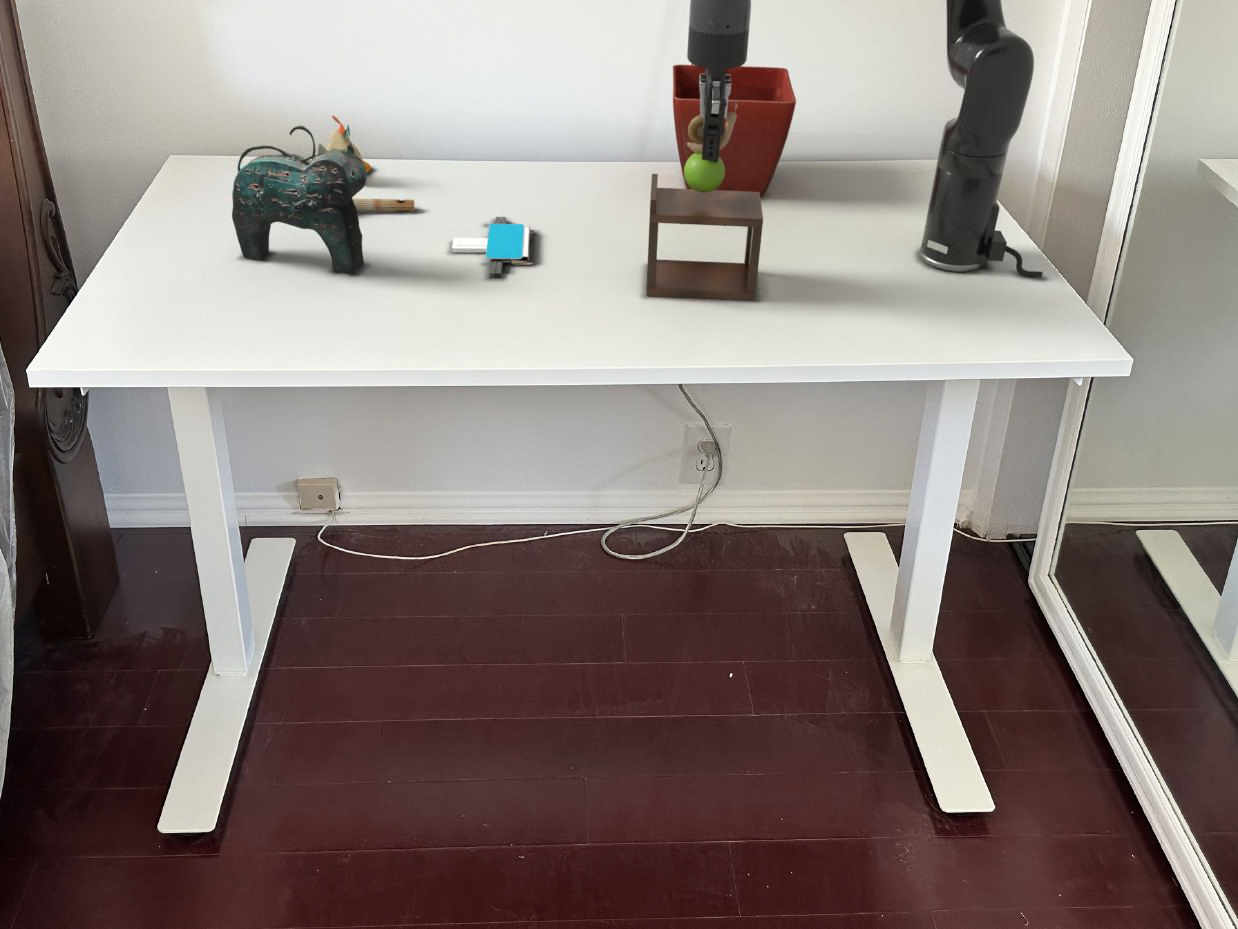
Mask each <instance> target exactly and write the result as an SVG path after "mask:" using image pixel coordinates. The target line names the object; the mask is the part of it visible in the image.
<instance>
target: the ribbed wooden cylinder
mask: <svg viewBox="0 0 1238 929" xmlns="http://www.w3.org/2000/svg"><path fill="white" fill-rule="evenodd" d="M352 199H353V202H354V204H355V207H356V209H357V211H372V212H373V211H375V212H377V211H379V212H381V211H382V212H383V211H384V212H385V211H386V212H399V211H403V212H415V199H403V200H401V199H399V198H398V199H395V198H359V197H357V198H356V197H355V198H354V197H352Z"/></svg>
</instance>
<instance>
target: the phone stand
mask: <svg viewBox="0 0 1238 929" xmlns="http://www.w3.org/2000/svg"><path fill="white" fill-rule="evenodd" d="M534 252H535V229H533V228H531V225H528V226H525V225H524V224H523V223H507V216H495V222H494V223H490V224H489V225H488V233H487V237H486V238H485V237H483V238H482V237H474V238H473V237H454V238H453V240H452V245H451V253H475V254H476V253H477V254H478V253H480V254H484V253H485V259H487V260H490V266H489V267H490V268H489V269H490V270H489V278H501V277H502V274H509V272H510V266H534V254H535V253H534Z"/></svg>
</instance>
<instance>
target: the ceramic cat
mask: <svg viewBox="0 0 1238 929" xmlns="http://www.w3.org/2000/svg"><path fill="white" fill-rule="evenodd" d="M298 130H301V131H304V132H306V133H307V134H308V135H309V136H310V138H311V141H312V154H311V156H308V157H304V156H301V155H298V154H295V153H289V152H286V151H284V150H283V149H281V148H278V147H276V146H273V145H255V146H251V147H248V148H246V149H245V150H244V151H243V152H242V154H241V155H240V157H239V159H238V162H237V174H236V176H235V178H234V181H233V184H232V185H233V186H232V192H231V193H232V194H231V197H232V211H231V218H232V222H233V226H234V229H235V233H236V238H237V241H238V244H239V247H240V251H241V254H242V256H243V258H244V259H249V260H254V261H263V260H265V258H266V257H268V256H269V255H270V232H271V227H272V224H274V223H282V224H286V225H289V226H291V227H295V228H298V229H302V230H311V231H314V232H315V233H317V235H318V236H319V237H320V238H321V240H322V242H323V243H324V245H325V246H326V249H328V252H329V256H330V260H331V269H332V272H333V273H345V274H350V275H355V274H356V273H357V272H358V271H360V269H361V268H362V267H363V266H365V261H364V252H363V235H362V234H363V232H362V231H361V227H360V220H359V211H358V210H357V209H356V207H355V204H354V202H353V199H352V198H354V196H356V195H357V194H358V193H359V192H360V191H362V189H363V188H364V187H365V186H366V184H367V180H368V179H367V178H368V177H367V173H366V167H365V165H364V163H363V161H364V160H363V159H362V160H363V161H362V160H361V159H360V158H359V157H358V156H357V155H356V153H355V151H354V148H353V146H352V145H351V143H352V142H351V143H349V144H348V145H347V146H346V147H345V148H344V149H343V150H333V151H327V150H326V149H327V148H326V147H325V146H324V144H321V143H319V144H318V148H317V149H318V150H317V155H316V143H315V139H314V135H313V134H312V132H311V130H309V128H307V127H305V126H304V125H296V126H294V127H293V128H292V129H291V130H290V131H289V135H290V136H292V134H293V133H294V132H295V131H298ZM265 149H266V150H273V151H277V152H279V154H263V155H260V156H258V157H254V158H253V159H251V160H249V162H248V163H247V164H245V165H244V166H242V167H241V164H242V161H243V160H244V158H245V157H246V156H247V155H248V154H249V153H251V152H252V151H257V150H265Z"/></svg>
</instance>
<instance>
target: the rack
mask: <svg viewBox="0 0 1238 929" xmlns="http://www.w3.org/2000/svg"><path fill="white" fill-rule="evenodd" d="M658 176H659V174H658V173H651V186H650V198H649V199H650V200H649V202H650V203H649V220H648V221H649V222H648V224H649V226H648V242H647V243H648V246H647V266H646V267H647V271H646V272H647V274H646V289H645V290H646V293H645V295H646V297H662V298H683V299H684V298H685V299H687V298H688V299H710V300H731V301H752V302H753V301H756V293H757V284H758V274H759V263H760V255H761V254H760V253H761V244H762V236H763V225H764V216H763V208H762V201H761V196H760V193H759V192H748V191H724V190H713V191H710V192H698V191H696V190H694V189H686V188H674V187H658V179H659V178H658ZM659 224H673V225H694V226H695V225H696V226H697V225H698V226H719V227H720V226H721V227H743V228H744V227H745V228H747V229H746V238H745V249H744V261H743V262H724V261H721V262H720V261H702V260H701V261H700V260H681V259H679V260H677V259H658V242H659V241H658V238H659Z"/></svg>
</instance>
